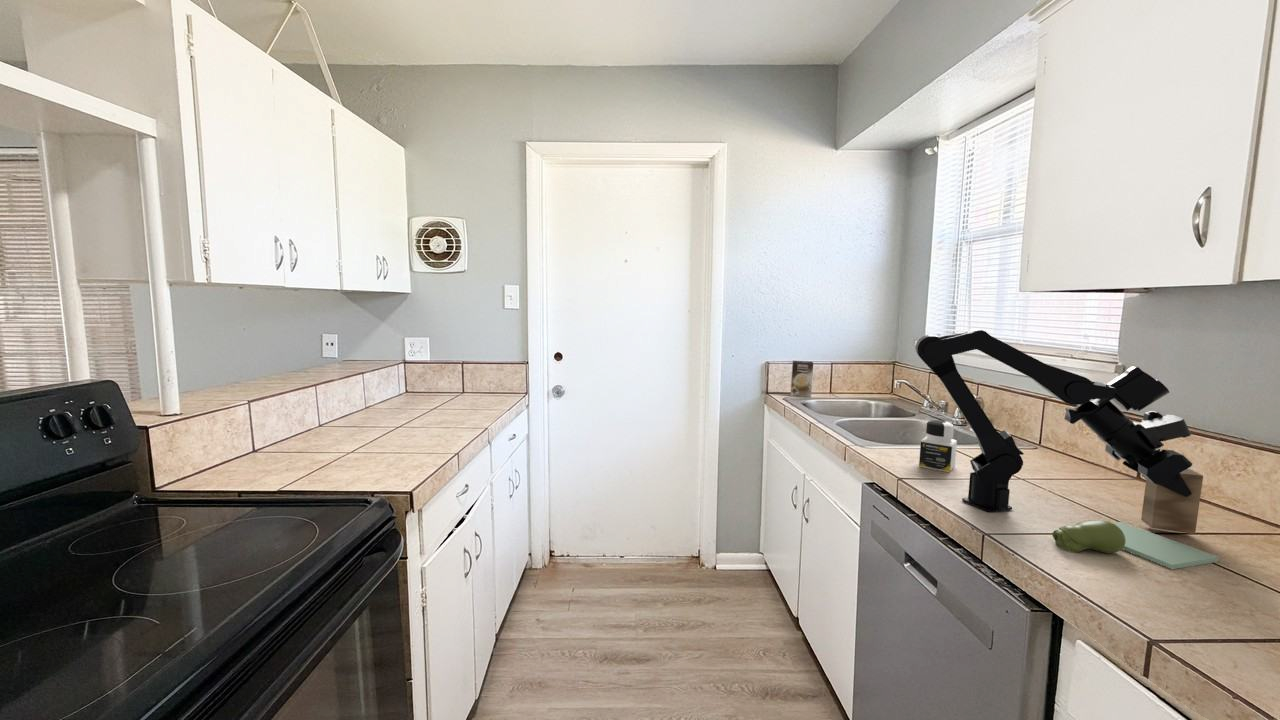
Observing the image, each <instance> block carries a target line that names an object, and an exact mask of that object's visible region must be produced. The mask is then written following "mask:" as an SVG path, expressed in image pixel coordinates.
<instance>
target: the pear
mask: <svg viewBox="0 0 1280 720" xmlns="http://www.w3.org/2000/svg"><path fill="white" fill-rule="evenodd" d="M1113 523H1114V522H1110V521H1106V520H1102V519H1101V520H1100V519H1096V520H1095V519H1094V520H1093V519H1092V520H1085V521H1084V520H1083V521H1081V522H1078V523H1076V524H1074V525H1073V524H1072V525H1070V524H1069V525H1063V526H1061V527H1059V528H1058V529H1055V530H1053V531H1052V534H1051V535H1052V537H1053V541H1054V543H1056V544H1057V545H1058V546H1059V547H1060V548H1061V549H1063V550H1064V551H1066V552H1069V551H1070V553H1080V552H1082V551H1084V550H1085V549H1092V550H1095V551H1097V552H1101V553H1103V554H1115V553H1119V552H1120V551H1122V549H1123V547H1124V546H1125V542H1126V540H1125V536H1124V533H1123V532H1122V530H1121V529H1120V528H1119V527H1118V526H1116V525H1115V524H1113Z"/></svg>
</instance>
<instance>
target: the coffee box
mask: <svg viewBox="0 0 1280 720" xmlns="http://www.w3.org/2000/svg"><path fill="white" fill-rule="evenodd" d="M791 365H792V368H791V381H790V383H791V384H790V397H795V398H796V397H797V398H810V399H811V398H812V391H813V374H814V362H813V361H808V360H806V361H805V360H792V363H791Z"/></svg>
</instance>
